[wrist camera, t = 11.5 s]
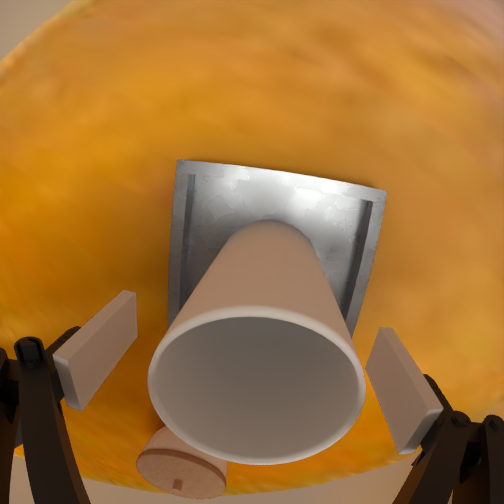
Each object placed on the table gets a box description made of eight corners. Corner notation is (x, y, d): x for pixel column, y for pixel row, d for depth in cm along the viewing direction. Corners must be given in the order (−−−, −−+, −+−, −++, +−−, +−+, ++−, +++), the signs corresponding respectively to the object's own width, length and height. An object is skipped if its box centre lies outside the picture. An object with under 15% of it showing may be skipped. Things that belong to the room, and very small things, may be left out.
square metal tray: (177, 327, 29) (167, 343, 26) (188, 160, 24) (177, 159, 21) (336, 351, 28) (341, 368, 25) (375, 188, 24) (387, 191, 21)
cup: (202, 279, 26) (121, 408, 11) (253, 199, 24) (211, 257, 8) (280, 327, 27) (278, 481, 11) (336, 255, 24) (410, 378, 9)
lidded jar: (140, 412, 33) (113, 463, 24) (212, 403, 31) (194, 465, 22) (179, 459, 35) (163, 507, 26) (246, 453, 34) (238, 509, 25)
